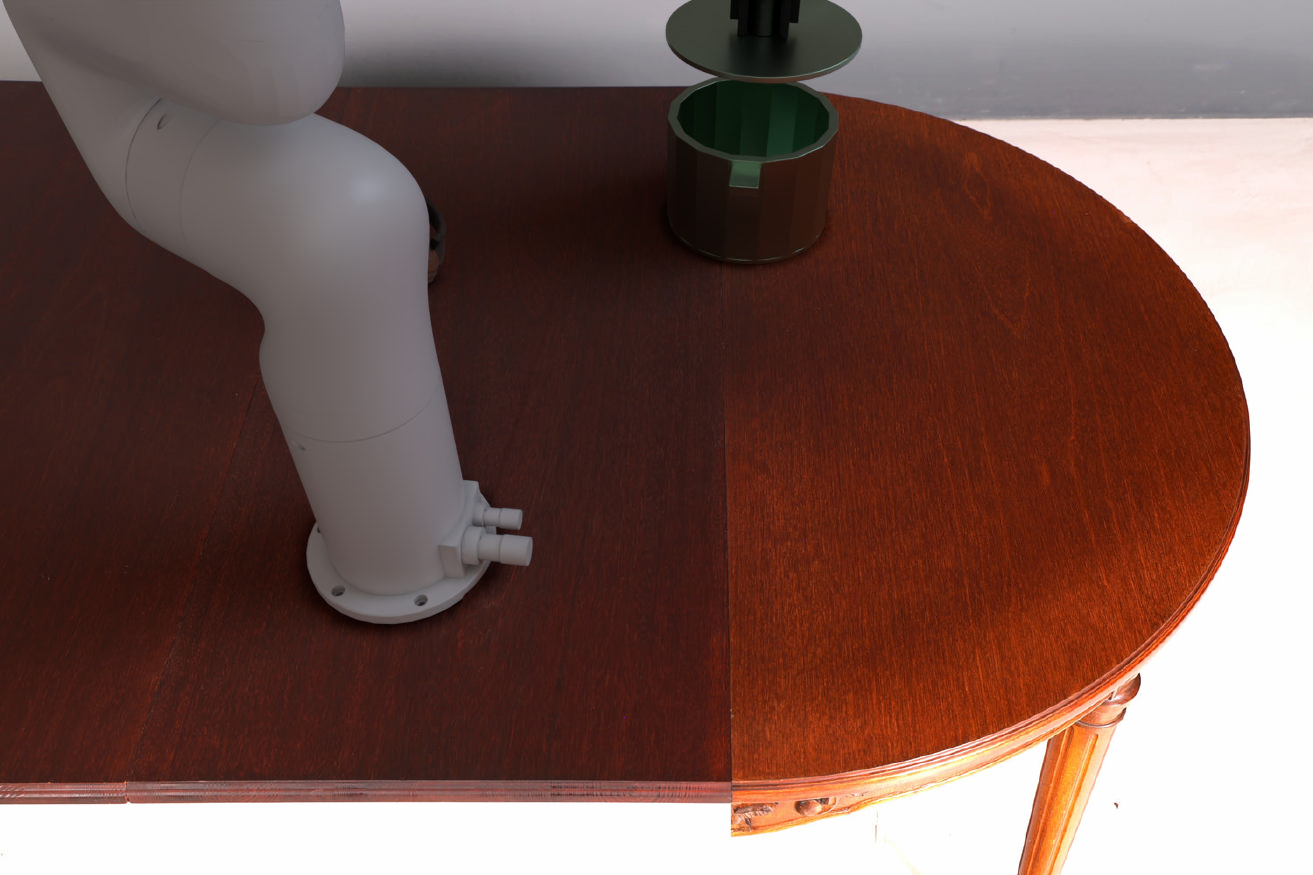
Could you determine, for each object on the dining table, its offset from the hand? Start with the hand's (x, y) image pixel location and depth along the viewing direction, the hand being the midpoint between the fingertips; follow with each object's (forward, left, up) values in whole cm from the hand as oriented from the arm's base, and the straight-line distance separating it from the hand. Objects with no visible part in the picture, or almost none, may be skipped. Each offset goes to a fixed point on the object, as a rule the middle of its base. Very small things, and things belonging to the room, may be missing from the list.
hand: (763, 27), depth 83 cm
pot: (0, -2, -19) cm, 19 cm away
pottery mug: (+31, +11, -19) cm, 39 cm away
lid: (0, 0, -1) cm, 1 cm away
